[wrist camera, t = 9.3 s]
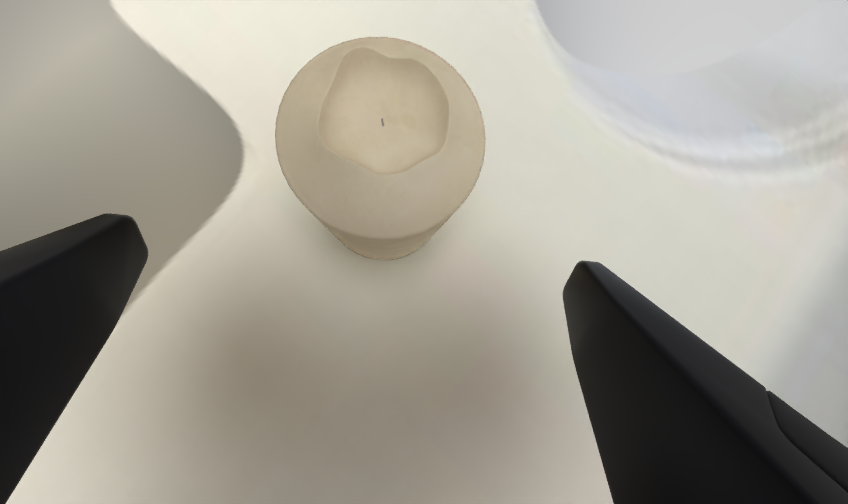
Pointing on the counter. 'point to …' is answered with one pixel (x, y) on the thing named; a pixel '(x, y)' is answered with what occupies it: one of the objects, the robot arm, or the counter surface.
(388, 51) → the candle
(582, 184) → the counter surface
